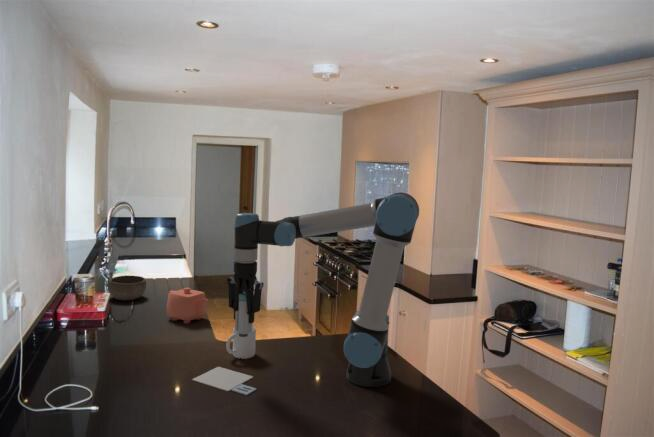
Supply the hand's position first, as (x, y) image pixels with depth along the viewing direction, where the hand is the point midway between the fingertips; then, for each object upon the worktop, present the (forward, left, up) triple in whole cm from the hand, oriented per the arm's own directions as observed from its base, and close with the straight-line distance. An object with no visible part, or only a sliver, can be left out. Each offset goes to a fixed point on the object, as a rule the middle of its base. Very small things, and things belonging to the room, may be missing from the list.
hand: (243, 330), depth 174 cm
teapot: (+59, -37, -16) cm, 71 cm away
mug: (+13, -15, -16) cm, 26 cm away
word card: (-6, +7, -16) cm, 19 cm away
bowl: (+107, -44, -16) cm, 117 cm away
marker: (0, 0, -2) cm, 2 cm away
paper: (+5, +4, -16) cm, 17 cm away
